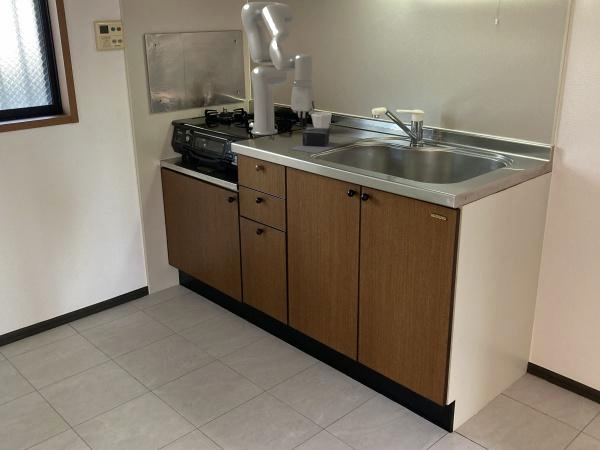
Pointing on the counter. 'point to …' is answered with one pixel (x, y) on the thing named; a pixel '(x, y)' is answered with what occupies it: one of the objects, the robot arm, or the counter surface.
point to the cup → (321, 119)
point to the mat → (317, 148)
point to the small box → (315, 136)
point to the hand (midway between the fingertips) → (303, 126)
